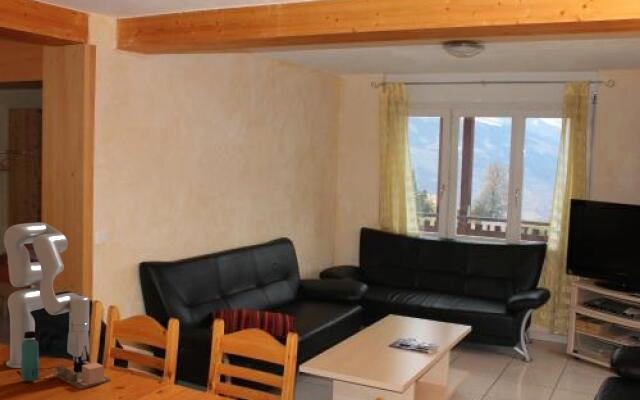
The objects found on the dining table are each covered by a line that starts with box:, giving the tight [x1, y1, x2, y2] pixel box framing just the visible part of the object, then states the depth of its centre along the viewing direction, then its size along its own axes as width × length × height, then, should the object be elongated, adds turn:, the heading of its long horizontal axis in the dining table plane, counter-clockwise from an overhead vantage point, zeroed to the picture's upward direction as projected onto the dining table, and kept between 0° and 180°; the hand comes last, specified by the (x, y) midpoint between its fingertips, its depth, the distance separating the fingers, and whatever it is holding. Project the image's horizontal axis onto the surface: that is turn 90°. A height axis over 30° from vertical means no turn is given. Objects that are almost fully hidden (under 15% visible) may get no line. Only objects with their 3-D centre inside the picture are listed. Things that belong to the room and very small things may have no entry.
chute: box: [55, 360, 112, 390], centre depth 268 cm, size 20×13×4 cm, turn 46°
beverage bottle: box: [20, 331, 40, 382], centre depth 262 cm, size 6×7×20 cm
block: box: [82, 362, 105, 384], centre depth 262 cm, size 6×6×6 cm
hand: (78, 371), depth 270 cm, fingers closed
